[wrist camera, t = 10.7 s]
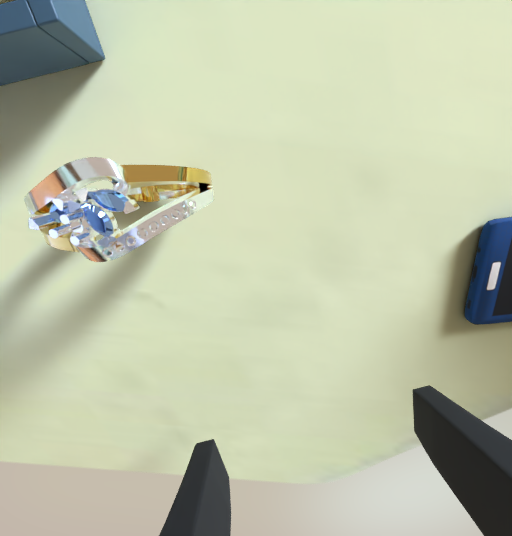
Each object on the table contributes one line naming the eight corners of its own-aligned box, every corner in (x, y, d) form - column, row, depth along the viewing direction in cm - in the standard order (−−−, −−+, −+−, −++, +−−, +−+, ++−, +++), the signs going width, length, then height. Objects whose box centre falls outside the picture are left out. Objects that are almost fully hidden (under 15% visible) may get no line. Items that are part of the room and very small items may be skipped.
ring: (96, 225, 16) (-19, 280, 9) (80, 165, 15) (-70, 167, 8) (220, 214, 16) (212, 257, 9) (213, 155, 15) (197, 147, 8)
